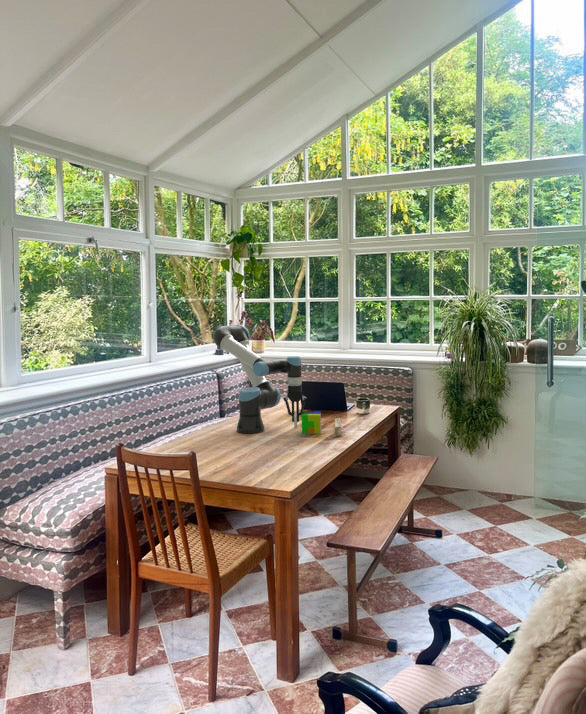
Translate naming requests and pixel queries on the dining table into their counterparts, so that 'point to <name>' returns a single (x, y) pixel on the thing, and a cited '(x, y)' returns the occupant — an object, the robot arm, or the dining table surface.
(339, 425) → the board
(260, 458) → the dining table surface
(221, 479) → the dining table surface
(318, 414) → the puzzle toy
